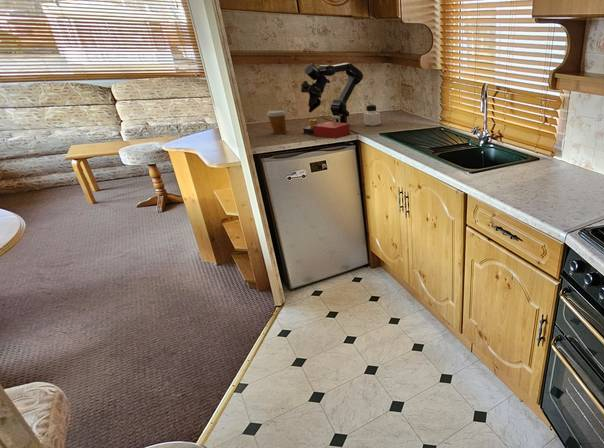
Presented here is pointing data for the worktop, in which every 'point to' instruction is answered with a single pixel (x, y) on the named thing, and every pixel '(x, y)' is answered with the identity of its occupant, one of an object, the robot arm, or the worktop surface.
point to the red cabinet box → (331, 132)
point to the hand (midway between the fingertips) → (309, 109)
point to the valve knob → (313, 122)
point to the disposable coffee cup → (277, 121)
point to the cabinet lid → (332, 124)
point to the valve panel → (308, 130)
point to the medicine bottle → (371, 116)
